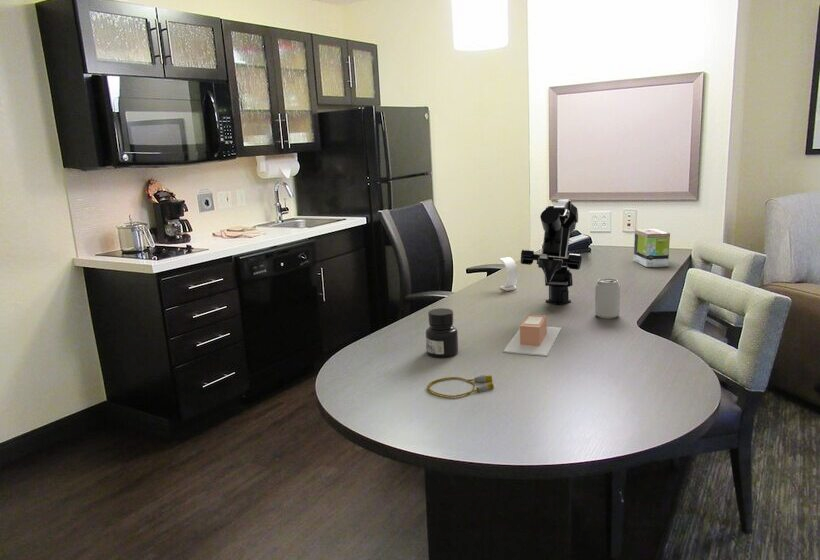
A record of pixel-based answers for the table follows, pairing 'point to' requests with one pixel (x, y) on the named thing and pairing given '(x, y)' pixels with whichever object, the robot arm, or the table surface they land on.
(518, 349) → the mat
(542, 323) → the block
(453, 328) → the ink bottle
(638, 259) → the tea box
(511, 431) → the table surface
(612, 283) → the can
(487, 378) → the extension cord
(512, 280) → the headphone stand
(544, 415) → the table surface
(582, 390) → the table surface
